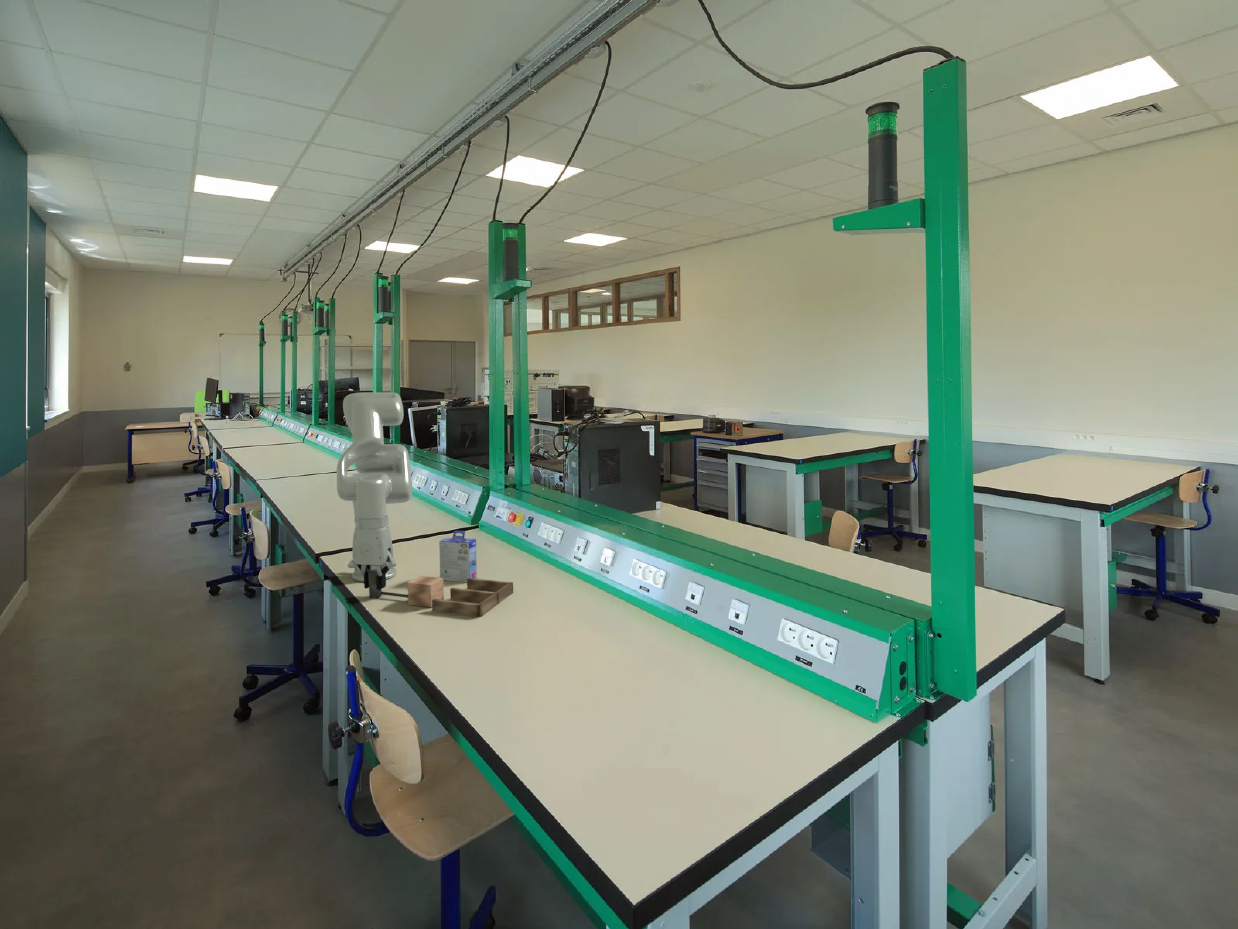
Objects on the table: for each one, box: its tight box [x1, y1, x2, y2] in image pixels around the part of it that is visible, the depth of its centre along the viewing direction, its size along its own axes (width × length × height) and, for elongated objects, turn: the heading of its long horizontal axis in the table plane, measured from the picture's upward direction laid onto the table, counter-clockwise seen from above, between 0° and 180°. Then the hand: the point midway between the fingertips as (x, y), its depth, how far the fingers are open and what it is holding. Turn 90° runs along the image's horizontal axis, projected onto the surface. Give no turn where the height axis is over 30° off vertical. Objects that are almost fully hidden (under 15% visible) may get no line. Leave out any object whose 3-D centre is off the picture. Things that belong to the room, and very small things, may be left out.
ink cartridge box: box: [439, 530, 478, 583], centre depth 187 cm, size 10×6×14 cm, turn 79°
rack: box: [431, 578, 514, 618], centre depth 169 cm, size 14×19×3 cm
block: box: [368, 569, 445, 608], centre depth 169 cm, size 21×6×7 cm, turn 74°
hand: (375, 587), depth 172 cm, fingers closed on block, 3 cm apart
